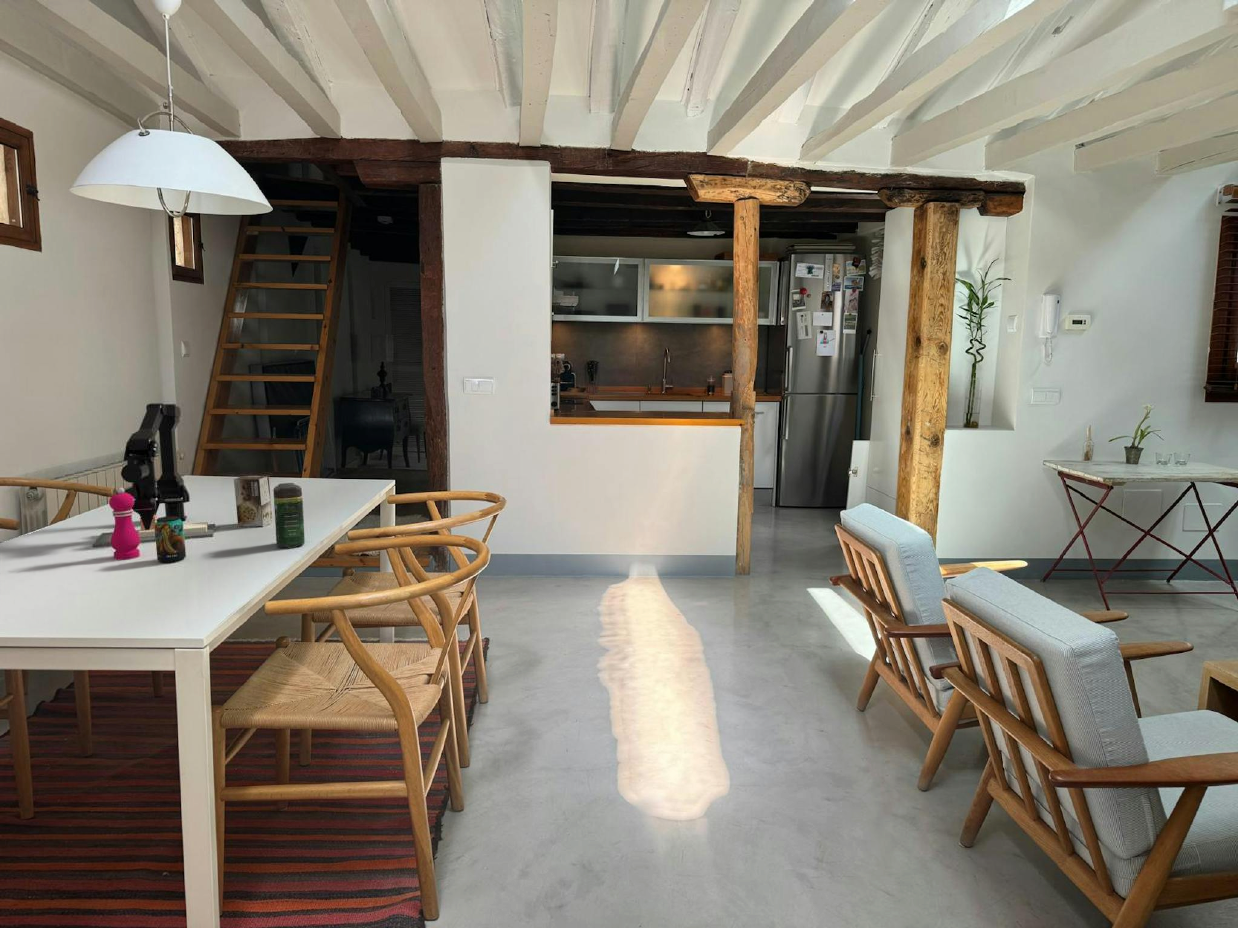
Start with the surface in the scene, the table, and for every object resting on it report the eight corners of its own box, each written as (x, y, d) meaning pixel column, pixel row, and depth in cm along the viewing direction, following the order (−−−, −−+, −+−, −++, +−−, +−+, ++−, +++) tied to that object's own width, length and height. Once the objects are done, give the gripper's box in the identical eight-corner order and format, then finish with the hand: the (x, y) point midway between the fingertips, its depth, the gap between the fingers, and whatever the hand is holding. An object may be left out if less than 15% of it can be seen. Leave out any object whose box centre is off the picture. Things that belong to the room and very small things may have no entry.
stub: (142, 531, 254) (140, 514, 253) (164, 530, 257) (162, 512, 256) (138, 537, 247) (137, 519, 246) (161, 535, 249) (159, 517, 248)
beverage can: (157, 564, 220) (153, 521, 218) (158, 558, 226) (154, 517, 224) (186, 561, 223) (182, 519, 221) (186, 555, 229) (182, 514, 227)
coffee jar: (306, 546, 239) (303, 485, 236) (278, 549, 235) (273, 487, 233) (303, 539, 247) (299, 480, 245) (275, 542, 244) (271, 482, 241)
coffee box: (273, 522, 271) (270, 475, 268) (263, 527, 265) (259, 478, 262) (247, 522, 272) (244, 475, 269) (236, 526, 265) (233, 478, 263)
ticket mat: (102, 535, 253) (101, 527, 253) (215, 526, 266) (215, 518, 266) (92, 547, 239) (91, 538, 238) (212, 536, 252) (212, 528, 251)
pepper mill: (147, 554, 230) (141, 486, 227) (125, 561, 223) (118, 490, 220) (128, 552, 232) (122, 484, 229) (105, 559, 226) (98, 489, 223)
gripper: (119, 474, 254) (123, 522, 256) (109, 484, 237) (114, 535, 240) (159, 472, 259) (163, 519, 261) (152, 481, 242) (157, 532, 244)
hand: (149, 526), depth 251 cm, fingers open, 9 cm apart
